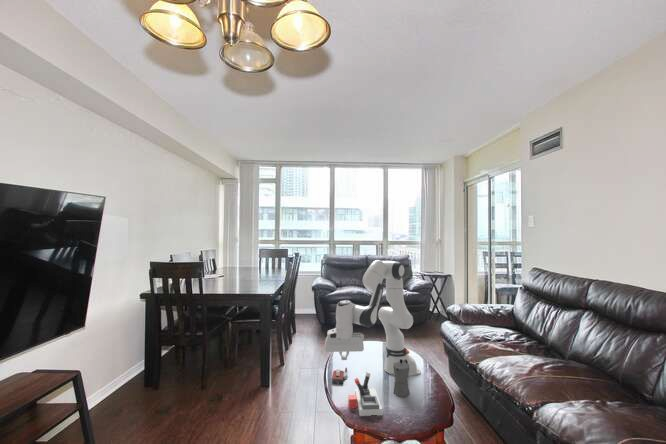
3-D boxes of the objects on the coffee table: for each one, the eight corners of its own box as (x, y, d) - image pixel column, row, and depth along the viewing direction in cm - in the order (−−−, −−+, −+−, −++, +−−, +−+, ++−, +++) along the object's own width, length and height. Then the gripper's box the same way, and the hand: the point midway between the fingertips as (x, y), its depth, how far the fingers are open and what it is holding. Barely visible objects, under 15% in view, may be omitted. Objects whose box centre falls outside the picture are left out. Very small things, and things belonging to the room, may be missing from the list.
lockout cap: (356, 403, 153) (356, 394, 153) (357, 408, 149) (356, 399, 149) (348, 403, 153) (348, 395, 153) (349, 408, 149) (349, 399, 149)
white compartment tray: (374, 393, 162) (374, 384, 163) (382, 415, 143) (382, 404, 144) (355, 394, 162) (354, 385, 162) (359, 416, 143) (359, 405, 143)
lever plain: (365, 389, 161) (369, 371, 161) (366, 391, 158) (370, 373, 159) (362, 388, 161) (366, 370, 161) (362, 390, 158) (367, 372, 159)
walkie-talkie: (346, 386, 172) (347, 370, 192) (346, 378, 172) (347, 363, 192) (331, 385, 173) (334, 369, 192) (331, 377, 173) (334, 362, 193)
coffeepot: (405, 401, 156) (405, 366, 156) (388, 395, 161) (388, 361, 161) (415, 388, 168) (414, 356, 169) (399, 383, 174) (398, 352, 174)
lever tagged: (366, 394, 155) (357, 377, 155) (366, 396, 152) (358, 380, 153) (363, 395, 155) (354, 379, 155) (363, 398, 152) (355, 381, 152)
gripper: (363, 330, 158) (363, 356, 157) (324, 330, 157) (324, 357, 156) (365, 334, 152) (365, 362, 151) (325, 334, 151) (324, 362, 150)
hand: (344, 359), depth 154 cm, fingers closed
